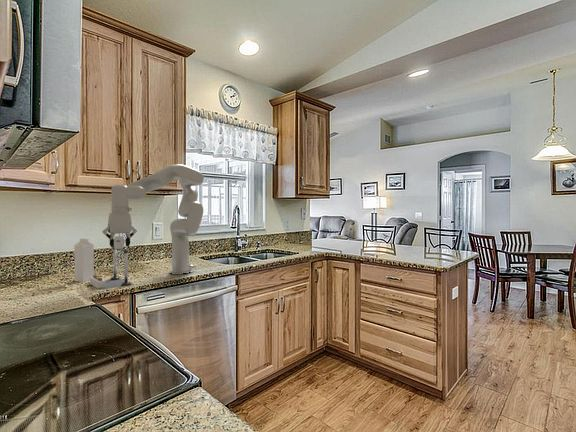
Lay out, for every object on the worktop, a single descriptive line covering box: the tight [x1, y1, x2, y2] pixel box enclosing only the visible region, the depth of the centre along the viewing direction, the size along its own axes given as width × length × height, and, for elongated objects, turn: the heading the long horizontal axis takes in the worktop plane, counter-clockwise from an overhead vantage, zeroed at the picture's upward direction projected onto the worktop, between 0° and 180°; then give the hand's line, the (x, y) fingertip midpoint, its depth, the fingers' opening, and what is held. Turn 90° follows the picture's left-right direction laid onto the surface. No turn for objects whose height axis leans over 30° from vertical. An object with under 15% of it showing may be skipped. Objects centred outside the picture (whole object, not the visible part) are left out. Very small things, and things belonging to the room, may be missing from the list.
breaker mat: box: [87, 274, 134, 291], centre depth 158 cm, size 15×21×5 cm
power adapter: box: [113, 235, 126, 250], centre depth 161 cm, size 11×5×6 cm, turn 20°
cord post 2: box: [121, 249, 132, 287], centre depth 155 cm, size 4×4×17 cm
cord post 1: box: [110, 248, 120, 280], centre depth 167 cm, size 4×4×17 cm
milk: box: [73, 238, 95, 283], centre depth 165 cm, size 6×6×22 cm
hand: (120, 246), depth 161 cm, fingers closed on power adapter, 6 cm apart
